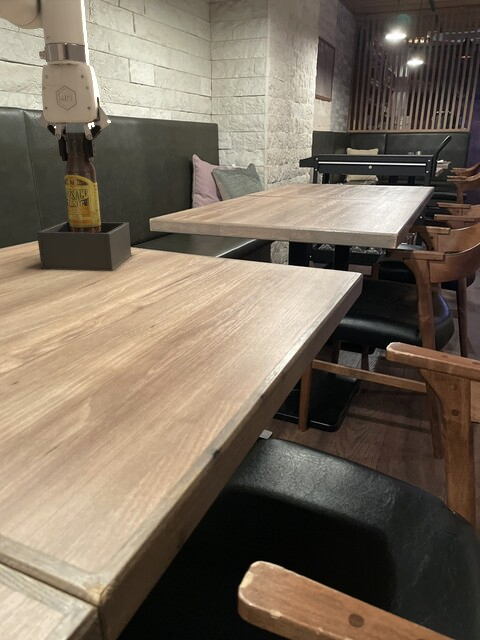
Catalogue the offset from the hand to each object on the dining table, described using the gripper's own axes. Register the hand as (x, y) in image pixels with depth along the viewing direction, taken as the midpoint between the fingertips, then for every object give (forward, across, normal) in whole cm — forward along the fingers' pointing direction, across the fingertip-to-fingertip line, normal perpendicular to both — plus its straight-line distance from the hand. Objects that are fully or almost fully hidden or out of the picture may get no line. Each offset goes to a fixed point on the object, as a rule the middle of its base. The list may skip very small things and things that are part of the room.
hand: (78, 160), depth 98 cm
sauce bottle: (+15, 0, 0) cm, 15 cm away
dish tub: (+21, 0, 0) cm, 21 cm away
